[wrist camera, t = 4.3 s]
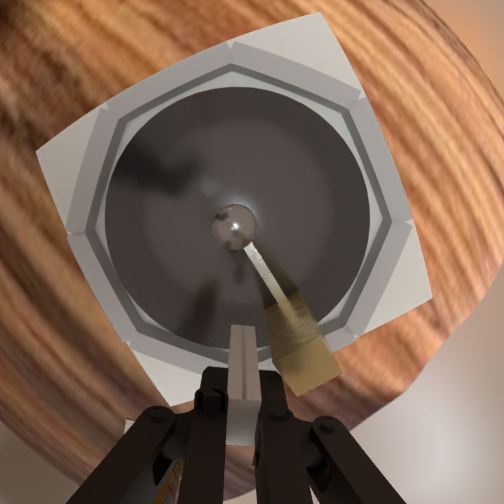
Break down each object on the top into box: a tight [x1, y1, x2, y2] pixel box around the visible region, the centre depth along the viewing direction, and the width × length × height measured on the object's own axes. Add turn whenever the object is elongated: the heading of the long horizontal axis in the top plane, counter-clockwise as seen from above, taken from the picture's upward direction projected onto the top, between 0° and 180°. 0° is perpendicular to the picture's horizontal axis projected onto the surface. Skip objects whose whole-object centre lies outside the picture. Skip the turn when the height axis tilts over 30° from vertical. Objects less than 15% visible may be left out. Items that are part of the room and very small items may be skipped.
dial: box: [105, 87, 370, 397], centre depth 16 cm, size 16×16×7 cm
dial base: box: [36, 12, 432, 406], centre depth 20 cm, size 22×22×4 cm
